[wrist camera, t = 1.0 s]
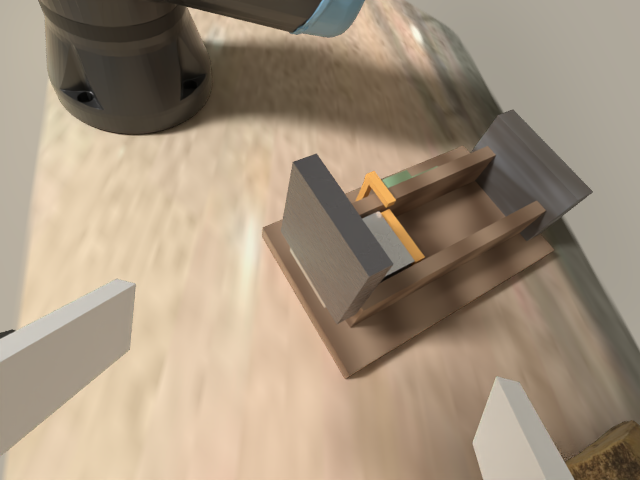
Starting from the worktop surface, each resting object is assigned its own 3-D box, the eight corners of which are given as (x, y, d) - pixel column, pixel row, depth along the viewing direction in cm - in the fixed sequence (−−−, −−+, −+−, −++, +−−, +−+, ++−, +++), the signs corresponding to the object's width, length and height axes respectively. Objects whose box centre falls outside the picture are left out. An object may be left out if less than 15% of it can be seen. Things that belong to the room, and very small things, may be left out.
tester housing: (344, 379, 32) (376, 351, 25) (261, 236, 37) (267, 177, 29) (544, 256, 41) (611, 210, 34) (457, 154, 46) (498, 94, 38)
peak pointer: (402, 277, 35) (423, 252, 31) (352, 205, 38) (365, 174, 34) (411, 272, 35) (433, 247, 32) (360, 201, 38) (375, 170, 34)
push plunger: (325, 340, 31) (369, 276, 21) (276, 256, 34) (292, 162, 24) (409, 294, 35) (483, 218, 24) (357, 219, 37) (404, 122, 27)
